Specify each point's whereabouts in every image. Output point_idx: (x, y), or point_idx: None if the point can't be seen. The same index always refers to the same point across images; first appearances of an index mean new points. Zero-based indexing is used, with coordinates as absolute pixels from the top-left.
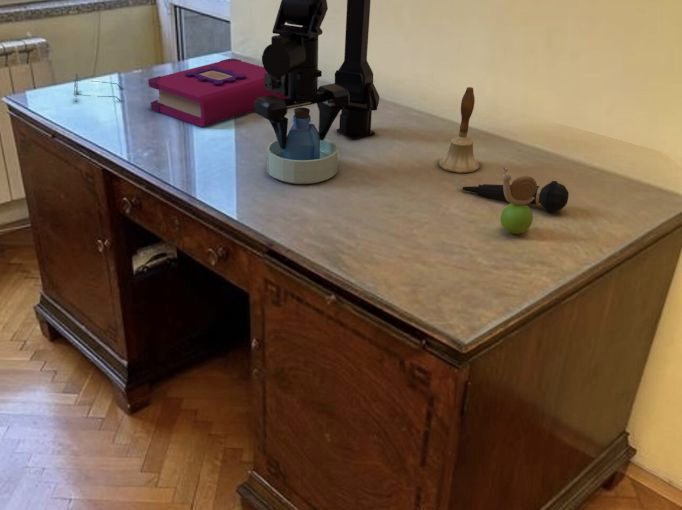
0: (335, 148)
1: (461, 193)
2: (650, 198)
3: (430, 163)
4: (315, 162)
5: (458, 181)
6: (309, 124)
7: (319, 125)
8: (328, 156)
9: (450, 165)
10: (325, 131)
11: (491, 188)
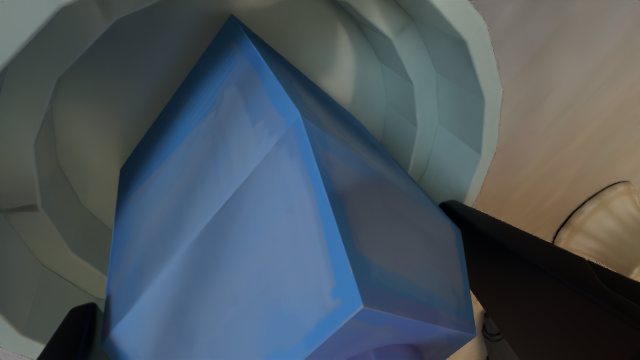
0: None
1: (474, 316)
2: None
3: (580, 193)
4: None
5: None
6: (444, 347)
7: (523, 263)
8: None
9: (570, 244)
10: (477, 294)
11: (495, 350)
